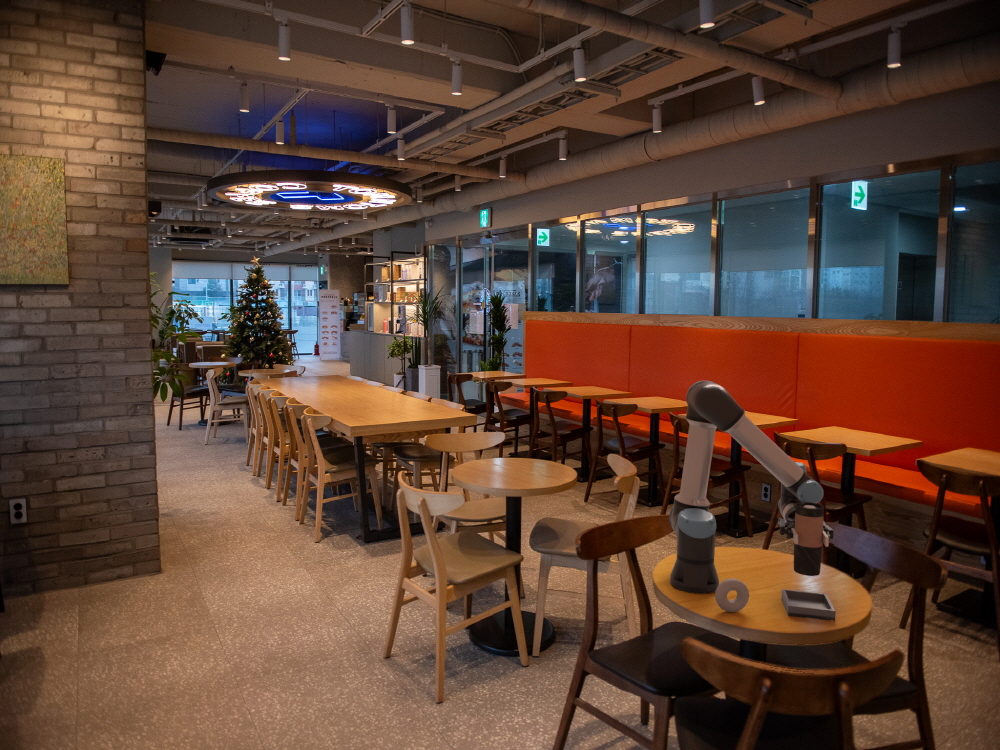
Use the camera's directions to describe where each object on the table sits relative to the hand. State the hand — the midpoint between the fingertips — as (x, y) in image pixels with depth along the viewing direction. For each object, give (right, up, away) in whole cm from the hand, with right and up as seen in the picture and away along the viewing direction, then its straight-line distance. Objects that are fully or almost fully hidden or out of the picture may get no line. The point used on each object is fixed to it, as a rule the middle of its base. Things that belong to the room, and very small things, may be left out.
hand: (811, 540), depth 197 cm
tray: (+1, -22, +6) cm, 23 cm away
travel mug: (+1, -11, +6) cm, 12 cm away
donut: (-22, -22, +4) cm, 31 cm away
